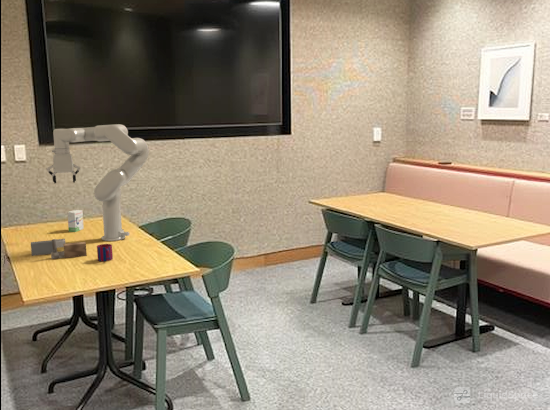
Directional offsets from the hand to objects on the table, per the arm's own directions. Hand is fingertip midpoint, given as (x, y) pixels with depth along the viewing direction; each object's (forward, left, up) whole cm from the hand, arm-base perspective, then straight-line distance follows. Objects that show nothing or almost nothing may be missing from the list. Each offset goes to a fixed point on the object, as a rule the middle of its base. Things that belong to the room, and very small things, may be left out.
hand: (64, 182), depth 287 cm
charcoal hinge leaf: (-5, +33, -31) cm, 46 cm away
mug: (-38, +46, -31) cm, 68 cm away
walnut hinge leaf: (-18, +40, -31) cm, 53 cm away
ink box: (+4, -19, -31) cm, 37 cm away
